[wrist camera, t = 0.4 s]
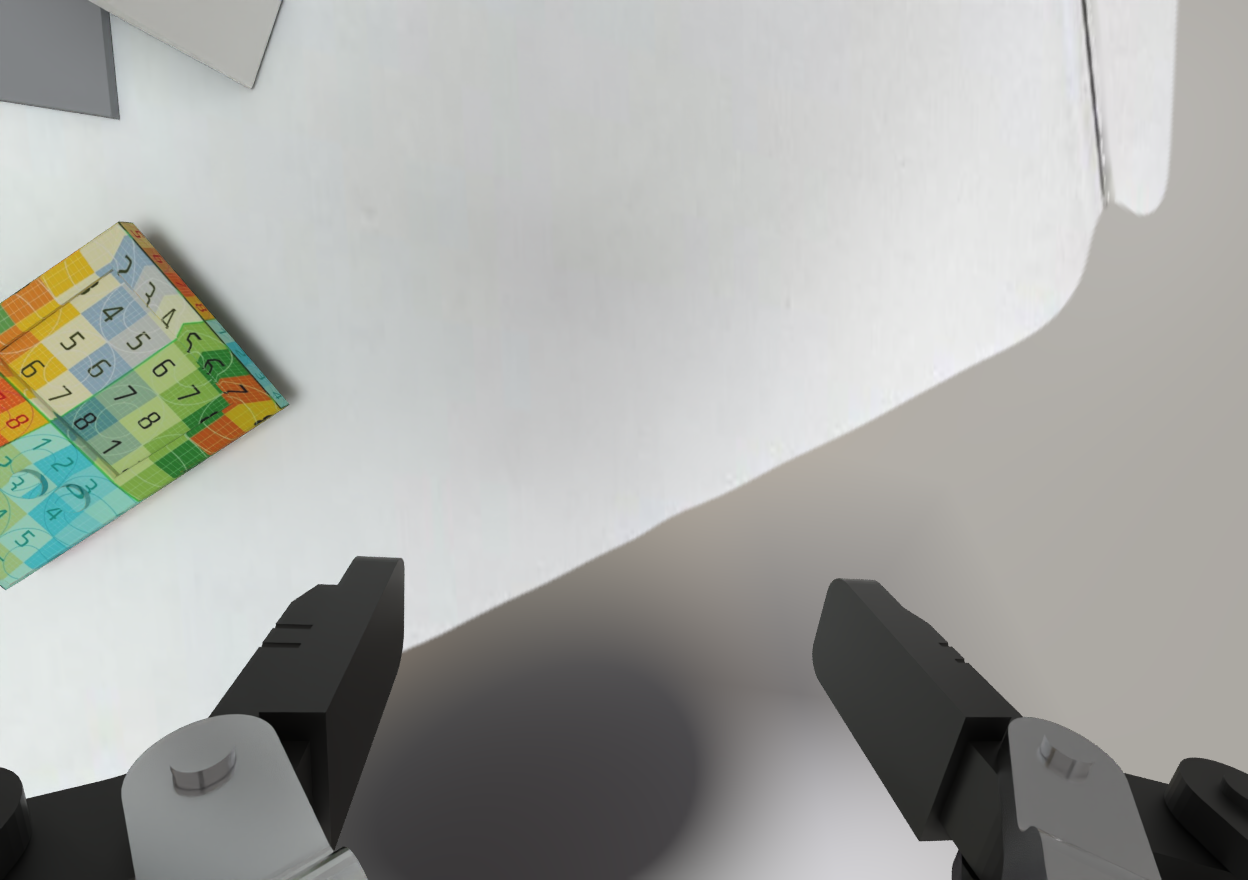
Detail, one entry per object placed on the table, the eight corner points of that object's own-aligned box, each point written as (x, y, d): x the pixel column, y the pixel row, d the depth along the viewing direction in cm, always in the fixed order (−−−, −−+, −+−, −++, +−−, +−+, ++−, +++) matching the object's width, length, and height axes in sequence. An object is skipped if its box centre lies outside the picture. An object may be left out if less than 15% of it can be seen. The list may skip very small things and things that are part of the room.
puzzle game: (-209, 436, 29) (105, 220, 28) (-110, 413, 34) (165, 225, 33) (-10, 599, 33) (274, 412, 32) (56, 559, 38) (307, 394, 37)
